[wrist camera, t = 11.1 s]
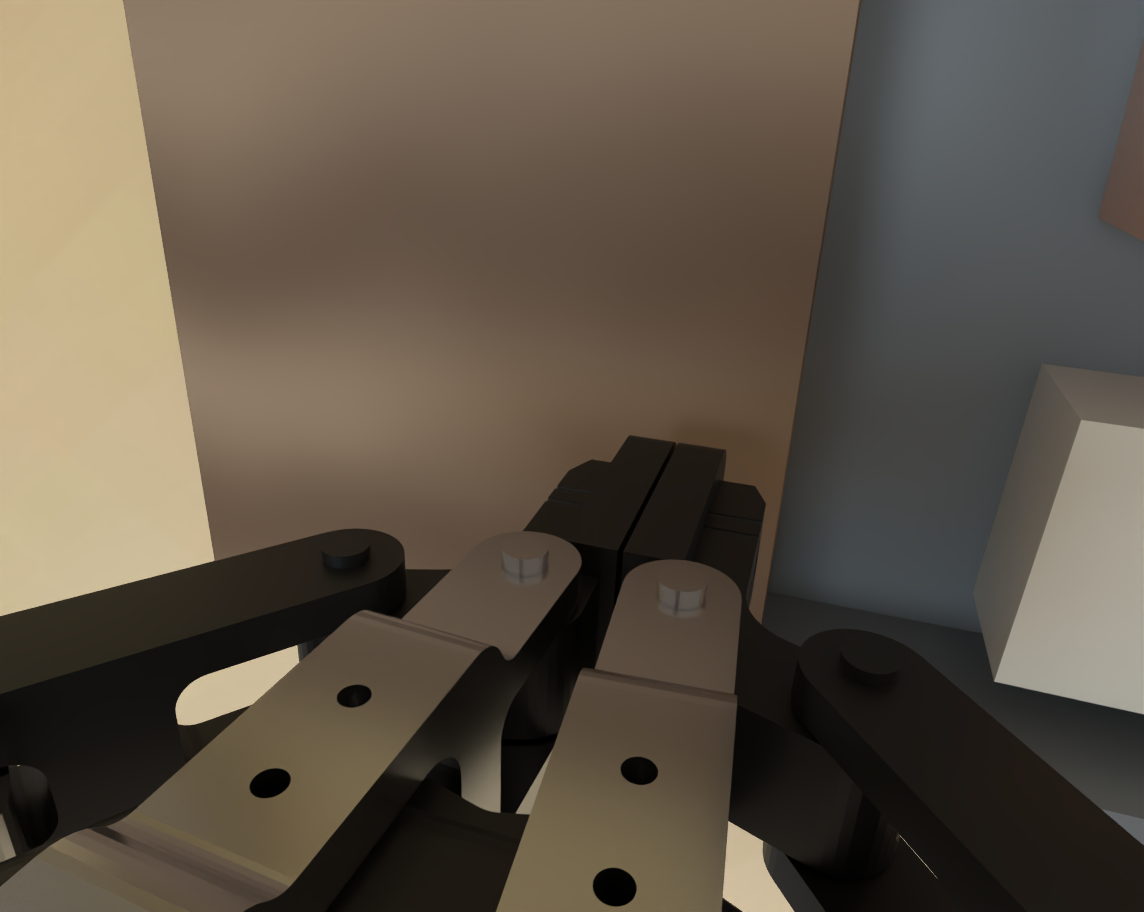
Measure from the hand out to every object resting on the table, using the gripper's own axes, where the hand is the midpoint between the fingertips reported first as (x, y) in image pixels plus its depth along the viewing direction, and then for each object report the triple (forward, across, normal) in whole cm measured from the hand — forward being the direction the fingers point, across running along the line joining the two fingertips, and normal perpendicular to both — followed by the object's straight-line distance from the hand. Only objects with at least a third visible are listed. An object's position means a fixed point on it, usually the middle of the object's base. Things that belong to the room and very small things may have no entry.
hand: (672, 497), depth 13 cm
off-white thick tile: (+2, -8, +1) cm, 9 cm away
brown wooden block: (+6, +4, -4) cm, 8 cm away
